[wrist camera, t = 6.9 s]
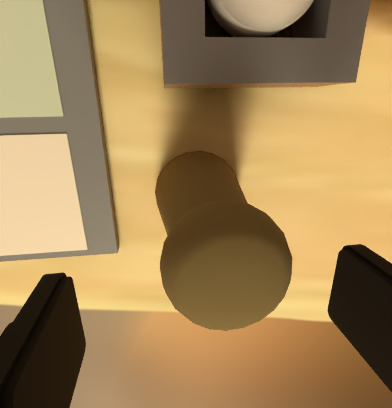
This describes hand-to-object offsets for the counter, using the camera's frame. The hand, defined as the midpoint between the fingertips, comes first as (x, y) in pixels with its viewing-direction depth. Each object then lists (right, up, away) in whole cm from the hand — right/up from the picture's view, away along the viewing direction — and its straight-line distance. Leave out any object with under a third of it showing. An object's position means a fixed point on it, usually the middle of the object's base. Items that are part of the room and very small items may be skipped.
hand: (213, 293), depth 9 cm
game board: (-13, +8, +7) cm, 16 cm away
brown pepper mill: (-1, +4, +10) cm, 11 cm away
